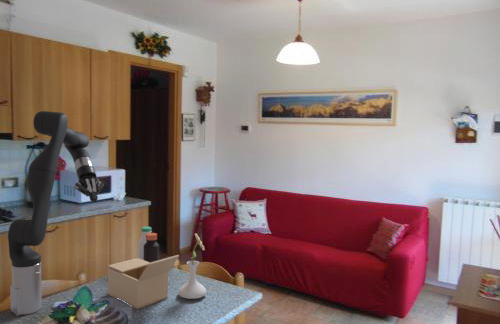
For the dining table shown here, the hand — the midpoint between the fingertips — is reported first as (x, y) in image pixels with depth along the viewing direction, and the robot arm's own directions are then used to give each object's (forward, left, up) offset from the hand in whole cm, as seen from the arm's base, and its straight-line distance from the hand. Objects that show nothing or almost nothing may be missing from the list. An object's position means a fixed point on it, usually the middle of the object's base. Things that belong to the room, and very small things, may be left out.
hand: (94, 200), depth 170 cm
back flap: (+4, -20, -25) cm, 32 cm away
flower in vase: (+20, -40, -36) cm, 58 cm away
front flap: (+4, -38, -21) cm, 44 cm away
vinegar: (+20, -12, -36) cm, 43 cm away
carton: (+4, -25, -36) cm, 44 cm away
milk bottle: (+26, 0, -36) cm, 45 cm away
